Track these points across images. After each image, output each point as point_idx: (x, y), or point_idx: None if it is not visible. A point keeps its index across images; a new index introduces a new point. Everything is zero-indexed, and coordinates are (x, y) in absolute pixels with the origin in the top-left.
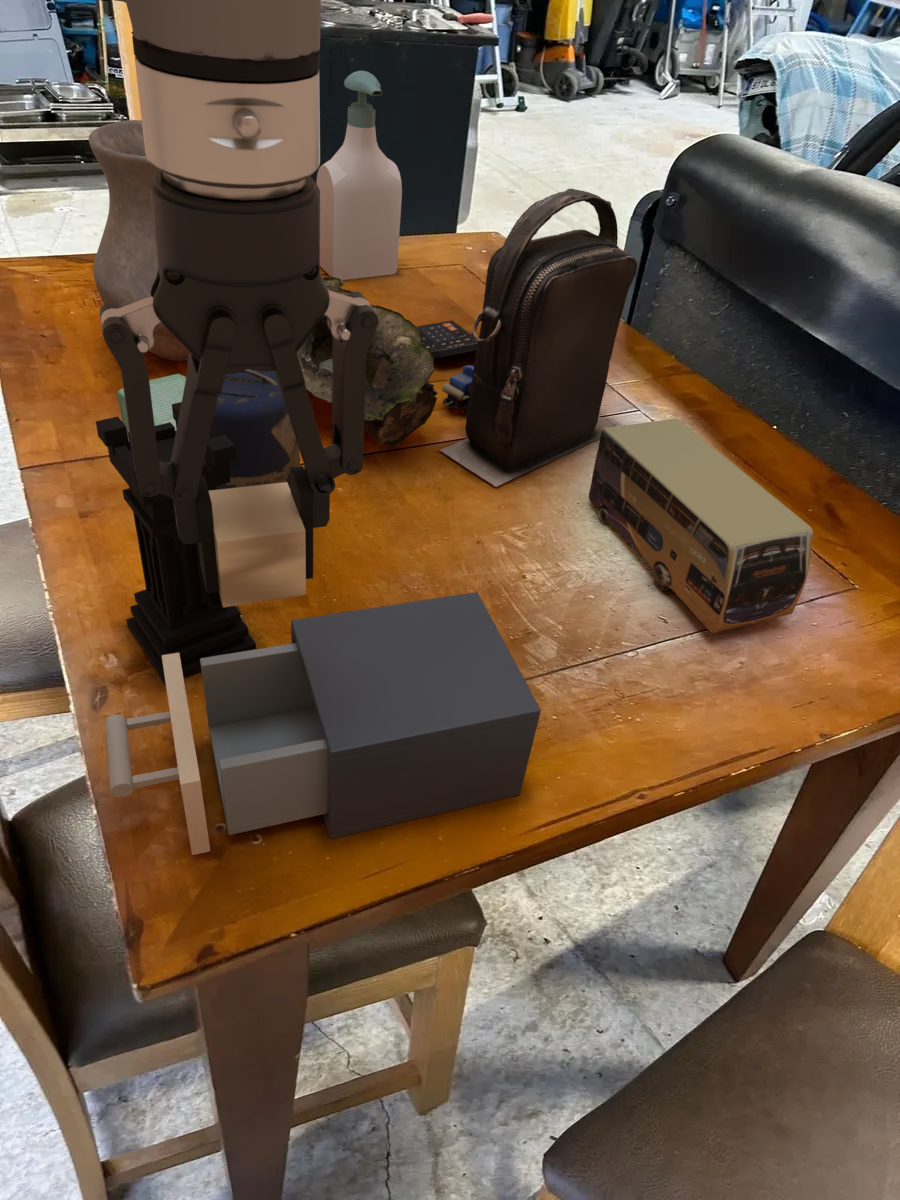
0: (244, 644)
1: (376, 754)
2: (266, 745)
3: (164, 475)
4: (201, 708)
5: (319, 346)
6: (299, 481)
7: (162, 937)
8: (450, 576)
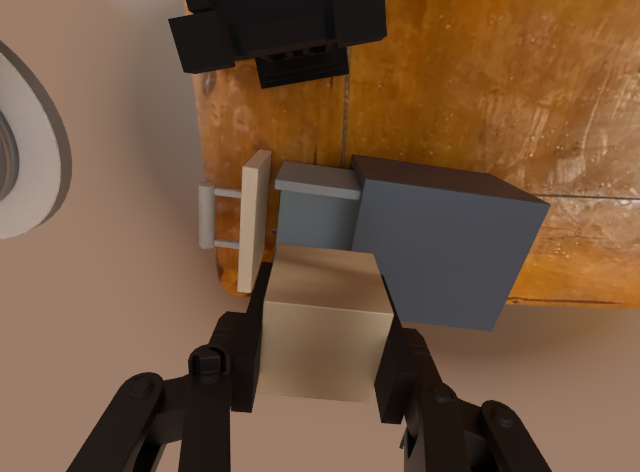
0: (339, 70)
1: None
2: (317, 202)
3: (169, 442)
4: (285, 126)
5: None
6: (393, 402)
7: (231, 280)
8: (577, 36)
